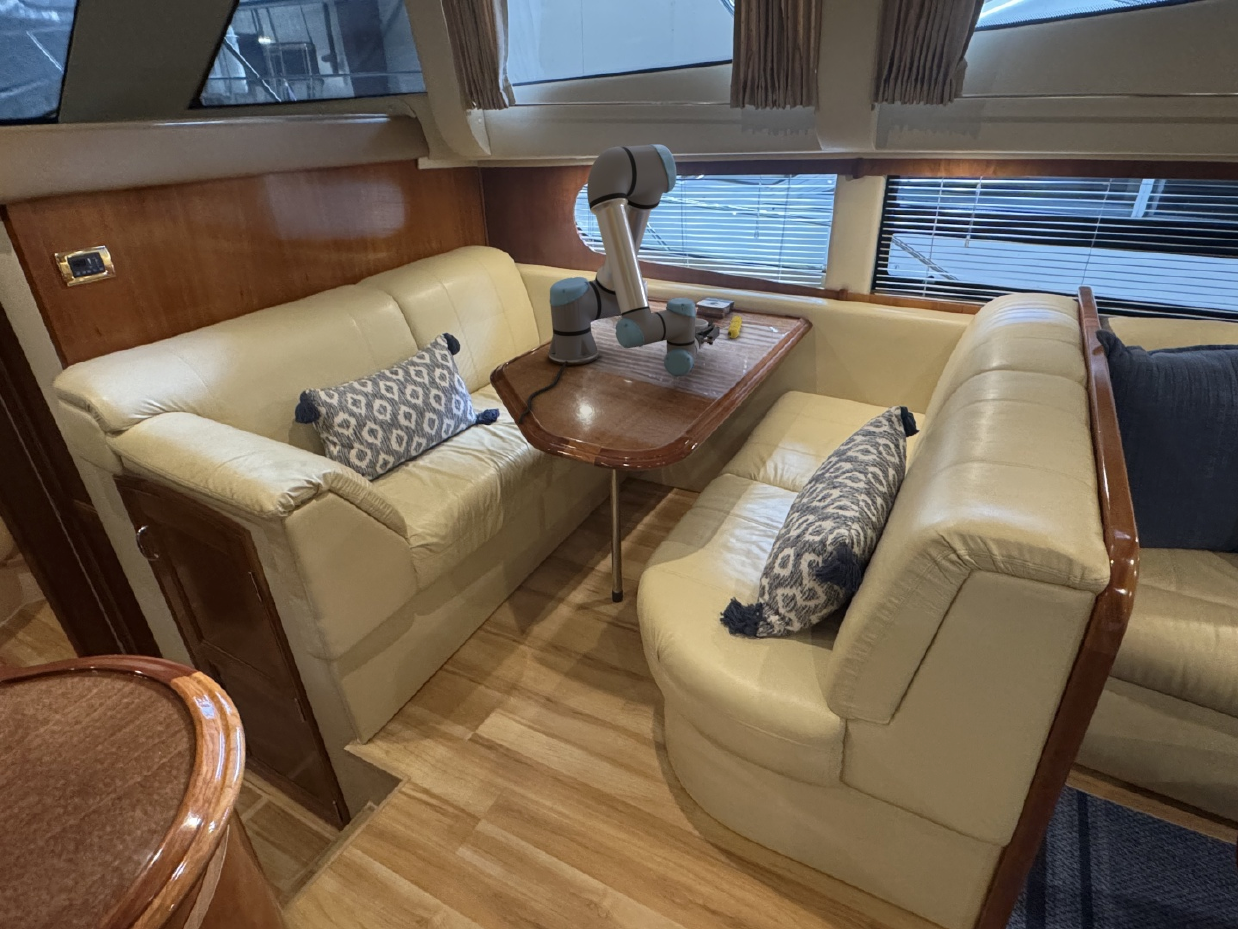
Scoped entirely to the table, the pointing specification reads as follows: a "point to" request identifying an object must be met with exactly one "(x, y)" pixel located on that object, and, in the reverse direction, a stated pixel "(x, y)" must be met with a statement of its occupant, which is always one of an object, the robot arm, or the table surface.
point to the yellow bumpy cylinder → (734, 327)
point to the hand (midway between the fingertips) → (697, 322)
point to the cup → (700, 326)
